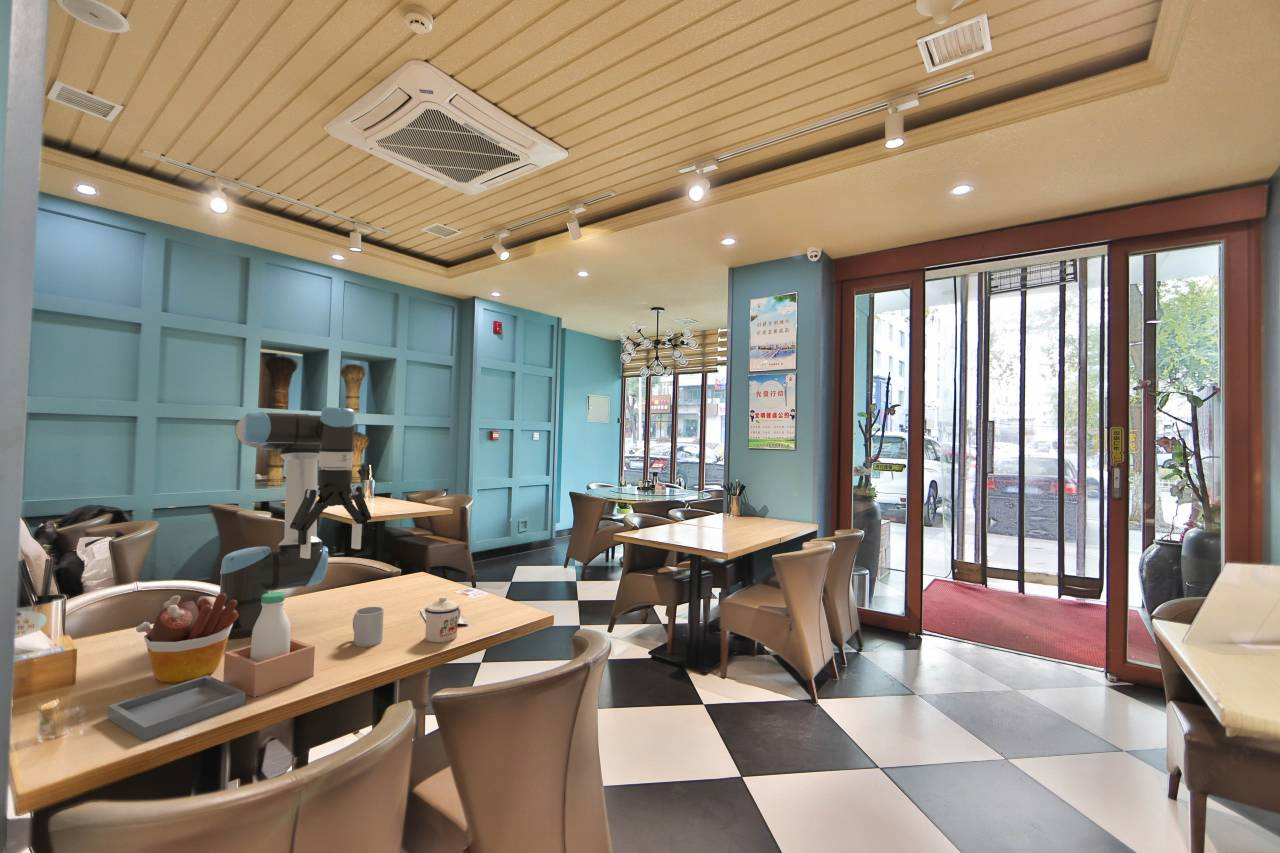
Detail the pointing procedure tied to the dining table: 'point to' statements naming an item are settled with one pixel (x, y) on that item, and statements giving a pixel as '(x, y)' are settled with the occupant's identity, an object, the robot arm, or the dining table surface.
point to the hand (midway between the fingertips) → (331, 553)
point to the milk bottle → (271, 629)
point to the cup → (368, 626)
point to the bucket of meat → (189, 637)
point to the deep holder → (268, 669)
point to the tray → (175, 706)
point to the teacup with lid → (442, 620)
